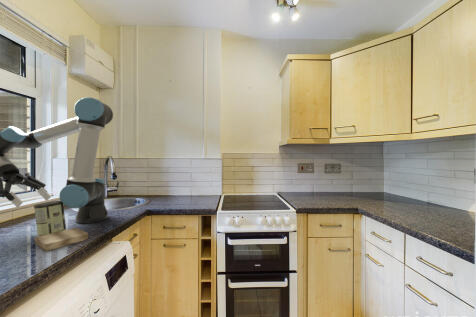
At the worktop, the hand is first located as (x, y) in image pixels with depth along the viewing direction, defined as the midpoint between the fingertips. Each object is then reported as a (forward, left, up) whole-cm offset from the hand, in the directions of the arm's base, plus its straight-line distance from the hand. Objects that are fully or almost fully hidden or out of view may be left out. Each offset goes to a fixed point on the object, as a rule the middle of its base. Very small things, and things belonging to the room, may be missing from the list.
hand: (35, 201), depth 99 cm
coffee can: (-4, +6, -15) cm, 17 cm away
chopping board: (-3, +22, -15) cm, 26 cm away
